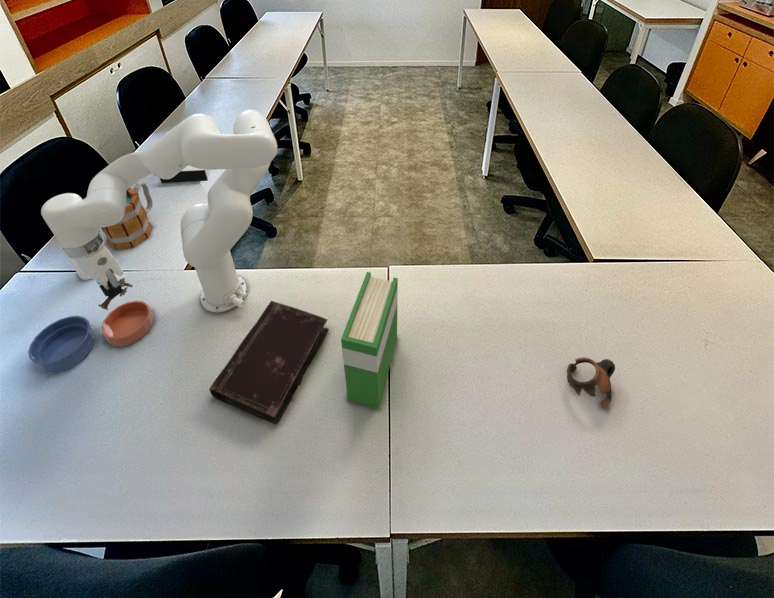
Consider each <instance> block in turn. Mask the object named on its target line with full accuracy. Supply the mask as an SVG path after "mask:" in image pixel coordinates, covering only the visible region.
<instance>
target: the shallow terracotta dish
mask: <svg viewBox="0 0 774 598" xmlns="http://www.w3.org/2000/svg"><path fill="white" fill-rule="evenodd" d="M154 318H155V317H154V314H153V311H152V309H151V307H150V306H149V304H147V303H146V302H144V301H143V300H142V301H141V300H132V301H127V302H124V303H123V304H120V305H118V306H117V307H115V308H114V309H113V310H112V311H110V312H109V313H108V314H107V315H106V317H105V318H104V319H103V322H102V325H101V327H100V329H101V334H102V336H103V338H104V339H105V340H106V342H108V344H110V345H111V346H114V347H124V346H129V345H132V344H133V343H136V342H137V341H139V340H140V339H142V338H143V337H144V336H145V335H146V334H147V333H148V332H149V331H150V329H151V328H152V326H153V323H154Z"/></svg>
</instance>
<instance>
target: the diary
mask: <svg viewBox="0 0 774 598" xmlns="http://www.w3.org/2000/svg"><path fill="white" fill-rule="evenodd" d="M327 322H328V318H325V317H322V316H321V315H316V314H315V313H314V314H313V313H311V312H308V311H305V310H302V309H300V308H297V307H293V306H290V305H287V304H284V303H279V302H277V301H274V300H270V302H269V303H268V305H267V306H266V308H265V309H264V311H262V313H261V315H260V316H259V318H258V320H257V321H256V322H255V324H254V325H253V326H252V328H251V329H250V330H249V332H248V333H247V334H246V336H245V337H244V339H243V340H242V341H241V343H239V345H238V346H237V349H236V350H235V351H234V353H233V355H232V356H231V358H230V359H229V361H228V362H227V363H226V365H225V366H224V367H223V369H222V370H221V371H220V373H219V375H218V376H217V377H216V378H215V380H214V381H213V382H212V383H211V385H210V387H209V393H210V395H211V396H212V398H213V399H214V400H218V401H220V402H222V403H225V404H226V405H229V406H231V407H233V408H236V409H238V410H240V411H242V412H245V413H247V414H249V415H251V416H254V417H256V418H258V419H260V420H262V421H265V422H268V423H271V424H273V425H278V424H279V422H280V421H281V420H282V417H283V415H284V414H285V412H286V410H287V408H288V407H289V404H290V403H291V401H292V399H293V398H294V395H295V394H296V391H297V389H298V388H299V386H301V384H302V381H303V378H304V376H305V374H306V372H307V371H308V369H309V367H310V366H311V364H312V362H313V360H314V358H316V355H317V353H318V351H319V350H320V348H321V346H322V344H323V342H324V340H325V338H326V336H327V334H328V332H329V331H330V330H329V328H327V327H325V325H326V323H327Z"/></svg>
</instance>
